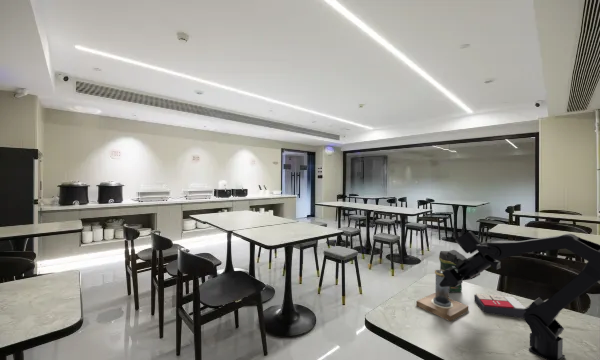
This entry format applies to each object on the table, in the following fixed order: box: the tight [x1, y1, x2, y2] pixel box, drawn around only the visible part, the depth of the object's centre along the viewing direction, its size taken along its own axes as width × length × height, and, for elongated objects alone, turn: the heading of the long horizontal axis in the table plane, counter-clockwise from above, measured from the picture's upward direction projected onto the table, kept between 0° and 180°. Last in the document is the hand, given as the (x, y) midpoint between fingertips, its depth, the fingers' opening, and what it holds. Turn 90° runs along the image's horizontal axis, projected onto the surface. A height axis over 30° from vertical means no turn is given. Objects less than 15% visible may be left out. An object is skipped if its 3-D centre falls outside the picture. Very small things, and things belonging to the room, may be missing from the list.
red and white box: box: [473, 293, 526, 319], centre depth 106 cm, size 11×4×15 cm
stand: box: [415, 292, 469, 322], centre depth 106 cm, size 14×14×2 cm
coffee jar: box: [438, 250, 463, 293], centre depth 124 cm, size 10×8×19 cm
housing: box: [433, 269, 451, 307], centre depth 106 cm, size 6×6×13 cm
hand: (446, 282), depth 104 cm, fingers open, 9 cm apart
